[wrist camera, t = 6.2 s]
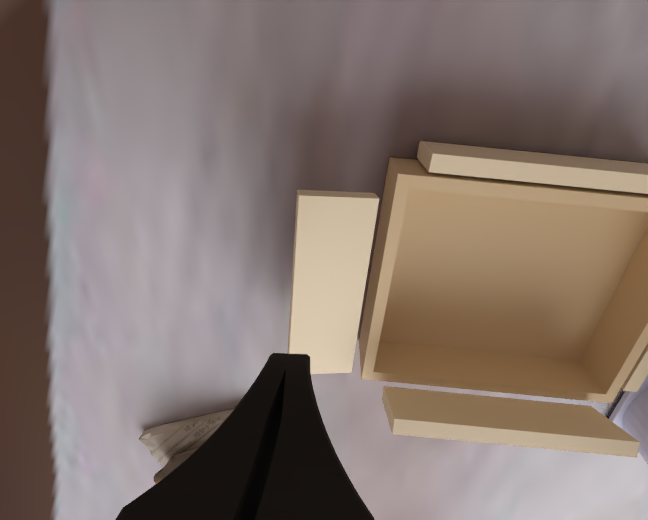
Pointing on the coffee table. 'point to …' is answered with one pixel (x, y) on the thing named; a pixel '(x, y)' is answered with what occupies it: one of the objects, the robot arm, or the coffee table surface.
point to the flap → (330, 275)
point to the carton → (510, 274)
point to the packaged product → (180, 439)
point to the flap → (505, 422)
